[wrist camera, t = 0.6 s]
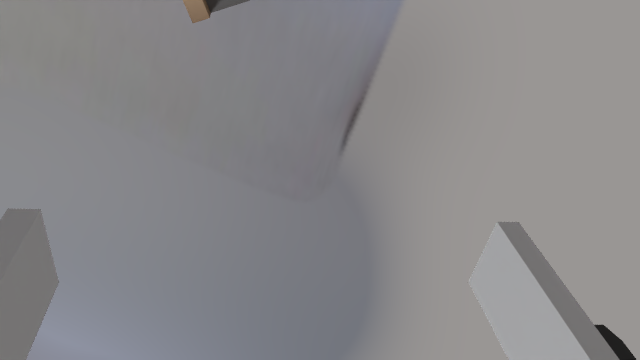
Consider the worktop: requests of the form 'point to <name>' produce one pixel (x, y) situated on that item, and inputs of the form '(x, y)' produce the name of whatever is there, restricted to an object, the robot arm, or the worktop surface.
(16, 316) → the robot arm
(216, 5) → the shelf
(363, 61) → the worktop surface
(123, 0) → the worktop surface
